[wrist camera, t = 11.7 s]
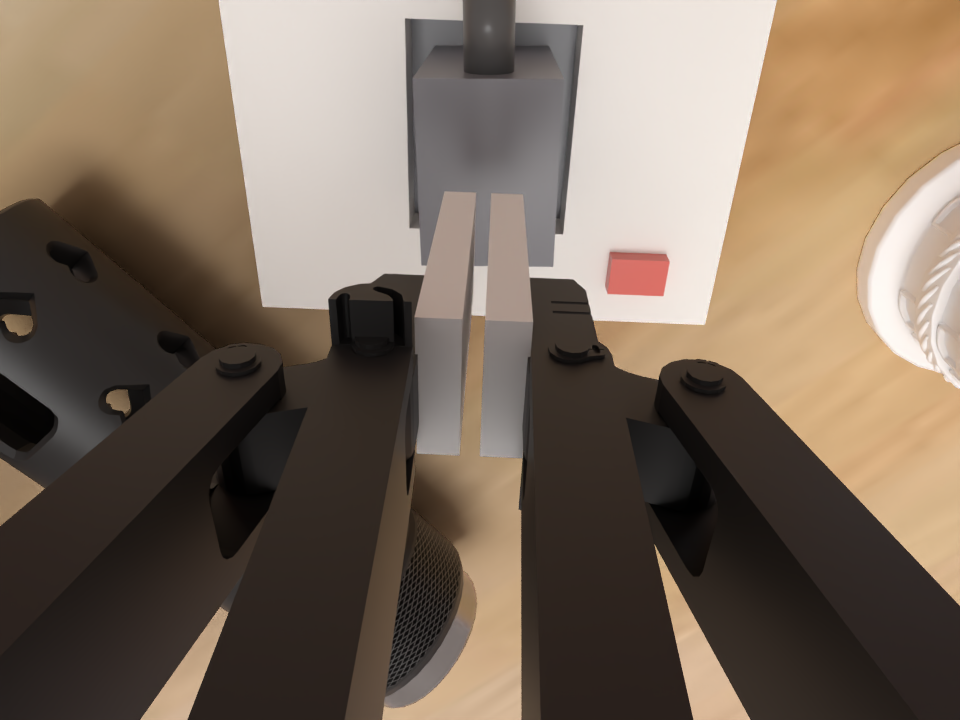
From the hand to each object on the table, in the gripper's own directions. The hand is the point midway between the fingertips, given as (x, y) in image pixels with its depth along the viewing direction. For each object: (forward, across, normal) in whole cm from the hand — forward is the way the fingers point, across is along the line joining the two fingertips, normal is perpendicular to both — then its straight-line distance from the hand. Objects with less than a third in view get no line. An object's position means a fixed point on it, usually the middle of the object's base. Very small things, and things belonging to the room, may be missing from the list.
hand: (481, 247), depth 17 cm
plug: (+14, 0, -1) cm, 14 cm away
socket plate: (+14, 0, 0) cm, 14 cm away
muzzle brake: (+15, +12, +16) cm, 25 cm away
